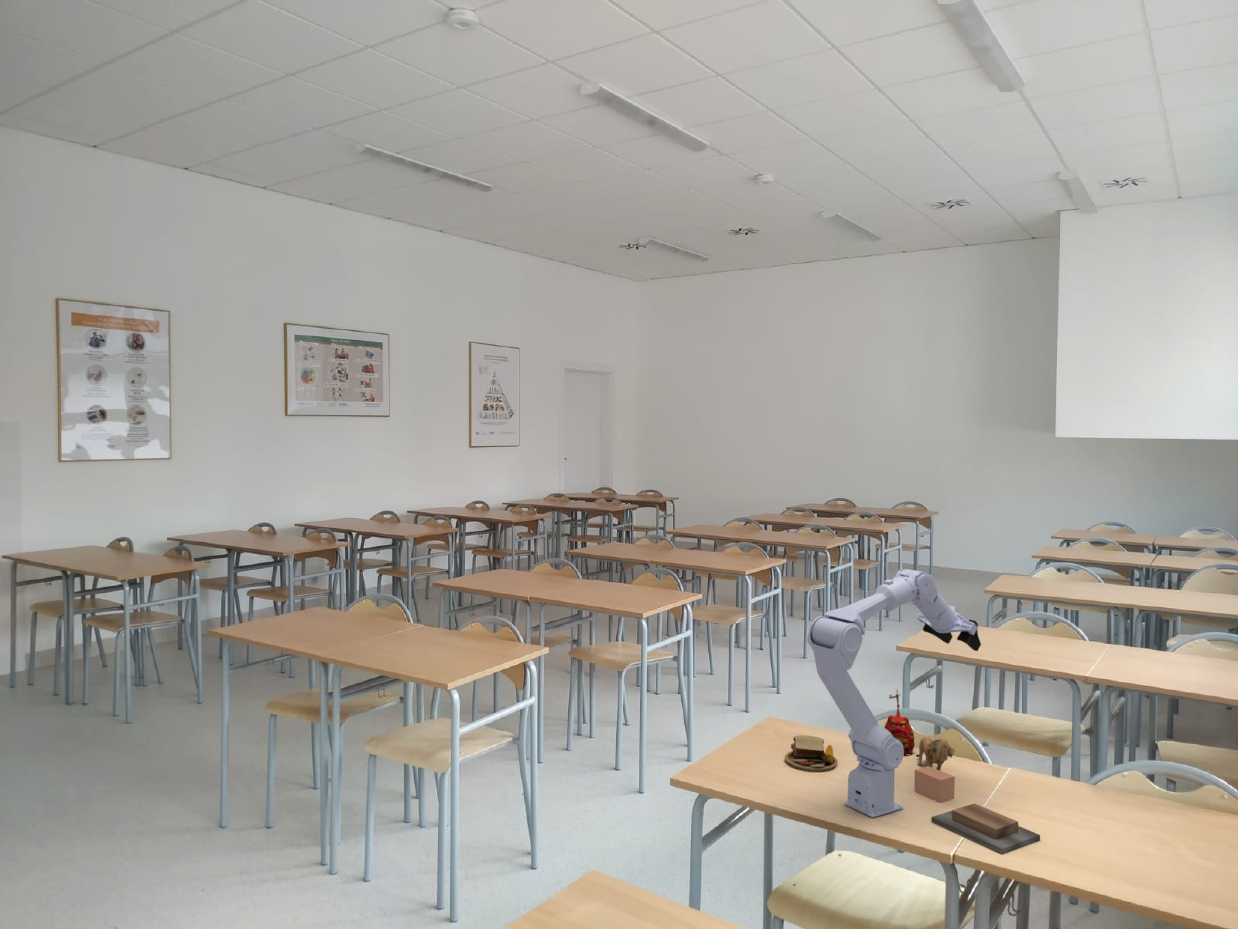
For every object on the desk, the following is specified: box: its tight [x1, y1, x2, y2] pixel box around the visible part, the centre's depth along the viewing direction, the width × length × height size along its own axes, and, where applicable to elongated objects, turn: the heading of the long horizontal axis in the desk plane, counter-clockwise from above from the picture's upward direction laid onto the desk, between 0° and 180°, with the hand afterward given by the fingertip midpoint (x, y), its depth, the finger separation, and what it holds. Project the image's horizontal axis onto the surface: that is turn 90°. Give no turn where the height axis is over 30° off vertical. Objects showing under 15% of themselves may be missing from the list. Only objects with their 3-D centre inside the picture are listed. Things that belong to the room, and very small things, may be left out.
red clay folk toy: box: [884, 689, 916, 756], centre depth 215 cm, size 8×7×15 cm
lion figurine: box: [915, 736, 956, 771], centre depth 203 cm, size 15×5×9 cm, turn 8°
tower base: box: [930, 803, 1041, 855], centre depth 170 cm, size 12×16×3 cm
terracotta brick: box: [913, 765, 956, 804], centre depth 187 cm, size 4×7×5 cm, turn 31°
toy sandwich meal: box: [784, 734, 838, 772], centre depth 207 cm, size 12×14×5 cm
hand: (963, 643), depth 195 cm, fingers open, 7 cm apart
